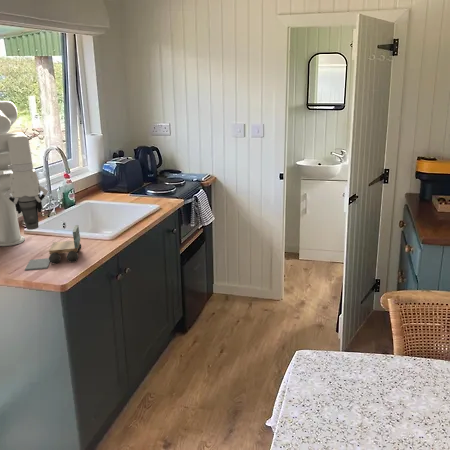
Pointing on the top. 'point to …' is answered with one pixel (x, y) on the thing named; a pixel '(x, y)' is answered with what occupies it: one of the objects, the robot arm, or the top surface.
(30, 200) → the beverage cup
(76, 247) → the trolley
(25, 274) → the top surface
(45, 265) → the mat
